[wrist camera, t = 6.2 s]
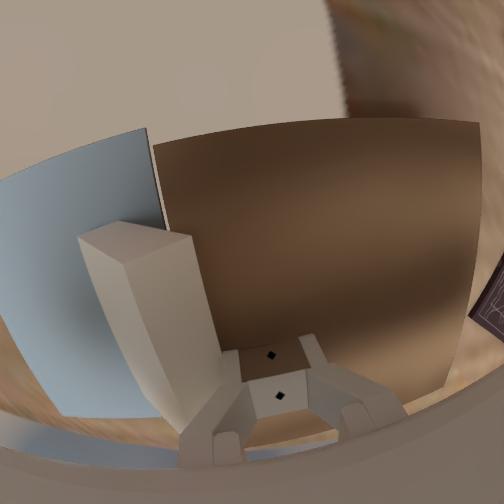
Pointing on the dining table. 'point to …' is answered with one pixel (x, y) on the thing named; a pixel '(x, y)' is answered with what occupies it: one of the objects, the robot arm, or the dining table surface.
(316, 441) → the dining table surface
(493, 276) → the chocolate bar
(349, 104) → the dining table surface
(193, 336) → the cream slab
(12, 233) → the mat
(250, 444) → the brown wooden box
